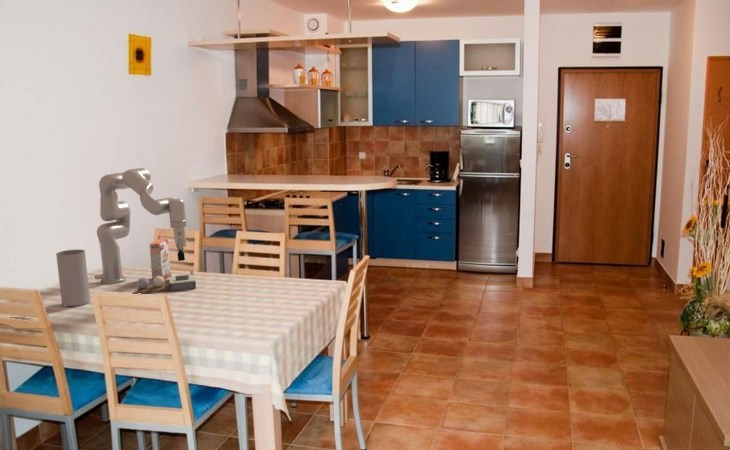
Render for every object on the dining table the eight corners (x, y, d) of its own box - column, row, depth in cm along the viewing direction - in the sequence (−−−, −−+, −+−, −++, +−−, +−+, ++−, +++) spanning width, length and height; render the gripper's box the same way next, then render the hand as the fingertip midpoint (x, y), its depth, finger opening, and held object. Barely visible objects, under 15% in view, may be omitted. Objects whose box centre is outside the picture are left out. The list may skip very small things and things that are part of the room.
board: (137, 294, 340) (137, 291, 340) (138, 289, 350) (137, 286, 350) (166, 291, 344) (166, 288, 344) (166, 286, 354) (166, 283, 354)
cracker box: (163, 282, 362) (160, 243, 358) (152, 282, 362) (148, 244, 359) (171, 275, 376) (168, 238, 372) (160, 276, 376) (157, 238, 372)
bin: (170, 291, 344) (170, 284, 343) (169, 279, 367) (168, 273, 367) (195, 288, 348) (195, 281, 347) (193, 277, 371) (192, 271, 370)
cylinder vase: (63, 308, 320) (57, 256, 316) (61, 302, 331) (55, 251, 327) (91, 304, 326) (86, 253, 321) (88, 298, 337) (83, 248, 332)
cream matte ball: (153, 288, 344) (152, 278, 343) (153, 286, 349) (152, 275, 348) (165, 287, 346) (164, 276, 345) (164, 284, 351) (164, 274, 350)
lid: (170, 284, 343) (169, 279, 343) (169, 278, 355) (169, 273, 355) (195, 281, 347) (195, 276, 346) (193, 275, 359) (193, 271, 358)
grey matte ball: (137, 290, 342) (136, 279, 341) (138, 287, 347) (137, 276, 346) (149, 289, 344) (148, 278, 343) (149, 286, 349) (148, 275, 348)
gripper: (186, 225, 332) (190, 262, 335) (185, 221, 346) (188, 256, 349) (170, 227, 329) (174, 264, 333) (169, 222, 343) (173, 258, 347)
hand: (181, 260), depth 341 cm, fingers closed
